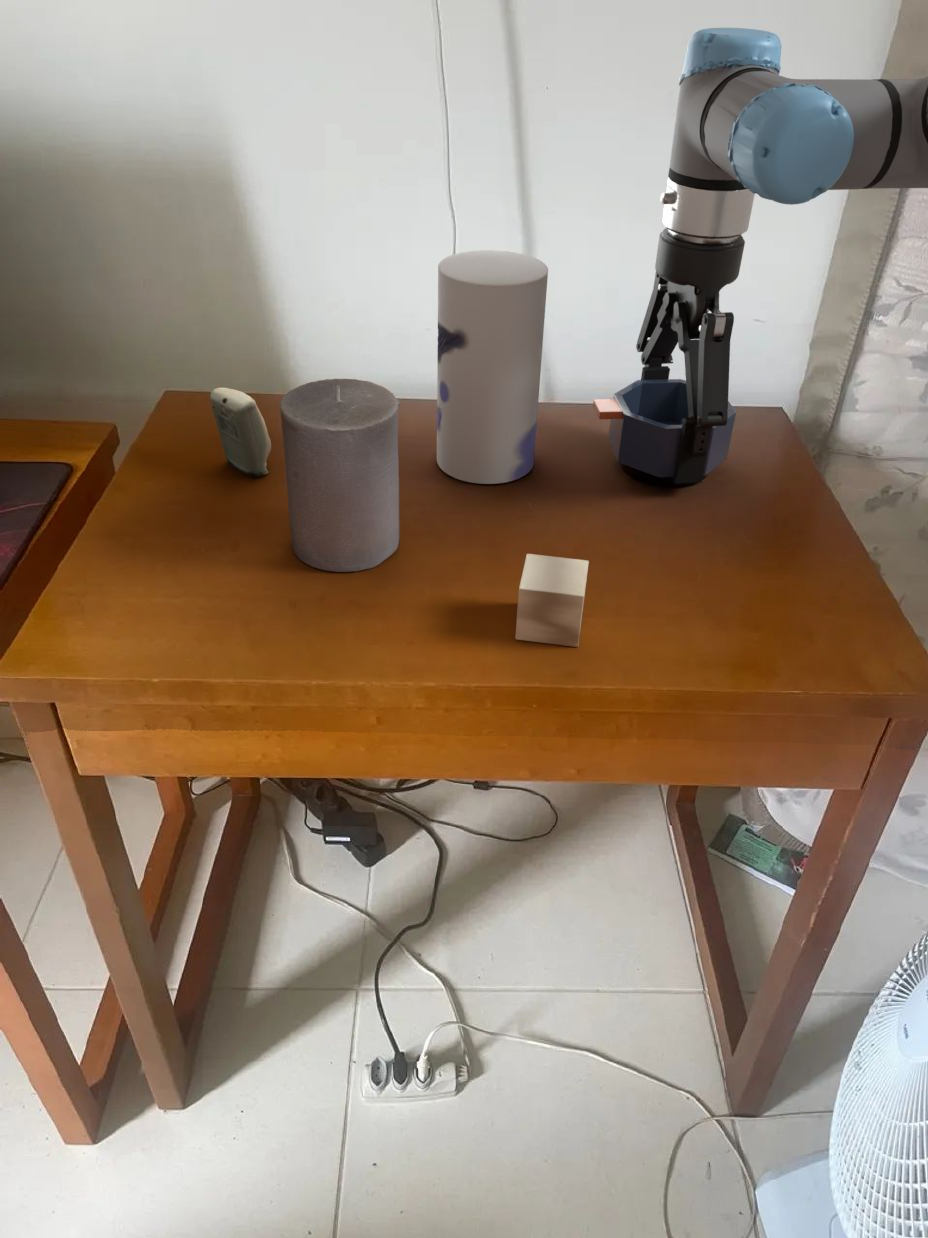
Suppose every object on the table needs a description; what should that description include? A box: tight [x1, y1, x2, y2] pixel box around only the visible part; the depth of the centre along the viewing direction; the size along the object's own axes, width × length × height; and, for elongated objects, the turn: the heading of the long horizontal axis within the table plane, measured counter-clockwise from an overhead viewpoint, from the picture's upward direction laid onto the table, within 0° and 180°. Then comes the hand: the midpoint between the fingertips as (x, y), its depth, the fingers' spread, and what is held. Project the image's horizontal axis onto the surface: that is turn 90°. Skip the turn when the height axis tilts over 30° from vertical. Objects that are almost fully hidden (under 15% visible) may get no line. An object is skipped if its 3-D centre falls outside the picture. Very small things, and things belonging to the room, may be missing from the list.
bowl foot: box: [619, 463, 708, 489], centre depth 101 cm, size 9×9×2 cm
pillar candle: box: [279, 378, 401, 573], centre depth 84 cm, size 10×10×15 cm
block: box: [514, 553, 590, 648], centre depth 78 cm, size 5×5×5 cm
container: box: [436, 249, 549, 485], centre depth 95 cm, size 10×10×20 cm
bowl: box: [592, 378, 737, 477], centre depth 98 cm, size 13×11×5 cm
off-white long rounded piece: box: [209, 387, 272, 479], centre depth 97 cm, size 6×5×8 cm
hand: (666, 452), depth 100 cm, fingers closed on bowl, 11 cm apart
